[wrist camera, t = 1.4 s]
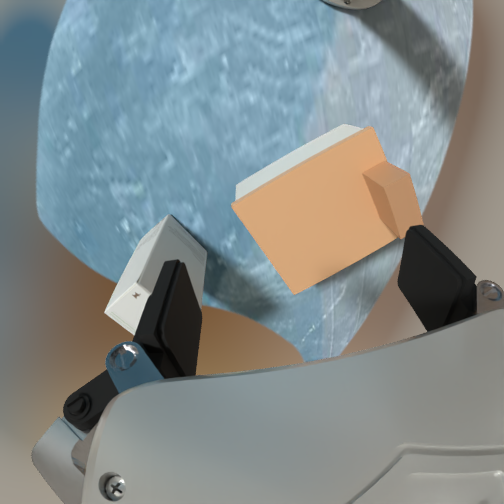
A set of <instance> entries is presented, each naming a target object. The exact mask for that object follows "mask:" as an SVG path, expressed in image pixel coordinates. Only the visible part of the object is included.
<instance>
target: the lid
mask: <svg viewBox="0 0 504 504" xmlns="http://www.w3.org/2000/svg"><path fill="white" fill-rule="evenodd" d="M231 207H232V209H233V210H234V211H235V213H236V214H237V215H238V217H239V218H240V220H241V221H242V222H243V224H244V225H245V227H246V228H247V229H248V231H249V232H250V234H251V235H252V236H253V238H254V239H255V241H256V242H257V243H258V245H259V246H260V248H261V249H262V250H263V252H264V253H265V255H266V256H267V257H268V259H269V260H270V262H271V263H272V264H273V266H274V267H275V269H276V270H277V272H278V273H279V274H280V276H281V277H282V279H283V280H284V281H285V283H286V284H287V286H288V287H289V289H290V290H291V291H292V293H293V294H294V295H295V294H297V293H299V292H301V291H303V290H305V289H307V288H309V287H311V286H313V285H314V284H316V283H318V282H320V281H322V280H324V279H326V278H328V277H329V276H331V275H333V274H335V273H337V272H339V271H341V270H342V269H344V268H346V267H348V266H350V265H351V264H353V263H355V262H357V261H359V260H360V259H362V258H364V257H366V256H367V255H369V254H371V253H373V252H374V251H376V250H378V249H379V248H381V247H383V246H385V245H386V244H388V243H390V242H391V241H393V240H395V239H396V238H398V237H399V238H400V239H402V238H404V237H405V235H406V231H407V230H409V227H410V226H415V225H423V221H422V216H421V212H420V208H419V205H418V201H417V197H416V194H415V190H414V187H413V183H412V180H411V177H410V174H409V173H408V172H406V171H404V170H402V169H400V168H398V167H396V166H394V165H392V164H390V163H388V162H387V159H386V157H385V154H384V152H383V149H382V147H381V145H380V142H379V140H378V137H377V135H376V133H375V131H374V128H373V127H370V126H368V127H366V128H364V129H362V130H360V131H358V132H356V133H354V134H352V135H350V136H349V137H347V138H345V139H343V140H341V141H339V142H337V143H335V144H333V145H332V146H330V147H328V148H326V149H324V150H322V151H320V152H319V153H317V154H315V155H313V156H311V157H310V158H308V159H306V160H304V161H302V162H301V163H299V164H297V165H295V166H294V167H292V168H290V169H288V170H287V171H285V172H283V173H281V174H280V175H278V176H276V177H275V178H273V179H271V180H269V181H268V182H266V183H264V184H263V185H261V186H259V187H258V188H256V189H254V190H253V191H251V192H249V193H248V194H246V195H244V196H243V197H241V198H239V199H238V200H236V201H235V202H233V203H232V204H231Z"/></svg>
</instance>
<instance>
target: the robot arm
mask: <svg viewBox="0 0 504 504" xmlns="http://www.w3.org/2000/svg"><path fill="white" fill-rule="evenodd" d="M323 1H325V2H327V3H329V4H331V5H334V6H337V7H341V8H345V9H351V10H362V9H368V8H370V7H373V6H375V5H376V4H378V3H379V2H380V1H381V0H323ZM345 3H346V4H345ZM475 280H476V276H475V275H474V274H473V272H472V271H471V270H470V269H469V268H468V267H467V266H466V265H465V264H464V263H463V262H462V261H461V260H460V259H459V258H458V257H457V256H456V255H455V254H454V253H453V252H452V251H451V250H449V248H448V247H446V246H445V245H444V244H443V243H442V242H441V241H440V240H439V239H438V238H437V237H436V236H434V235H433V234H432V233H431V232H430V231H429V230H428V229H427V228H426V227H424V226H423V225H415V226H410V227H409V230H407V231H406V235H405V242H404V248H403V254H402V260H401V266H400V271H399V276H398V286H399V288H400V290H401V291H402V293H403V294H404V296H405V297H406V299H407V300H408V302H409V303H410V305H411V306H412V308H413V309H414V311H415V313H416V314H417V316H418V317H419V319H420V320H421V322H422V324H423V325H424V327H425V329H426V330H427V332H426V333H423V334H420V335H417V336H413V337H410V338H407V339H404V340H400V341H397V342H393V343H390V344H386V345H382V346H378V347H375V348H371V349H367V350H363V351H358V352H354V353H350V354H346V355H341V356H336V357H331V358H326V359H321V360H316V361H310V362H305V363H299V364H293V365H287V366H280V367H273V368H266V369H258V370H249V371H240V372H231V373H221V374H209V375H198V376H195V375H196V366H197V357H198V349H199V340H200V333H201V324H202V312H201V309H200V306H199V303H198V301H197V298H196V295H195V292H194V289H193V286H192V283H191V280H190V277H189V274H188V271H187V268H186V265H185V263H184V262H180V260H179V259H176V260H169V261H165V262H164V264H163V266H162V269H161V271H160V274H159V277H158V279H157V282H156V284H155V287H154V290H153V292H152V295H150V296H149V297H148V299H147V302H146V304H145V307H144V310H143V312H142V315H141V318H140V321H139V324H138V326H137V329H136V332H135V335H134V338H133V341H132V342H131V341H127V342H122V343H120V344H118V345H116V346H115V347H113V348H112V349H111V350H110V352H109V353H108V355H107V357H106V361H105V365H106V368H107V370H105V371H104V372H103V373H101V374H100V375H98V376H97V377H95V378H94V379H93V380H91V381H90V382H88V383H87V384H85V385H84V386H83V387H81V388H80V389H78V390H77V391H76V392H74V393H72V394H71V395H70V396H69V397H68V398H67V400H66V402H65V404H64V407H63V413H64V417H63V418H62V419H61V418H60V417H58V418H57V419H56V420H55V422H54V423H53V424H52V425H51V427H50V428H49V429H48V430H47V431H46V432H45V434H44V435H43V436H42V438H41V439H40V440H39V441H38V442H37V443H36V445H35V446H34V448H33V450H32V455H31V456H32V461H33V464H34V466H35V467H36V468H37V470H38V471H39V473H40V474H41V475H42V477H43V478H44V479H45V480H46V482H47V483H48V485H49V486H50V487H51V488H52V490H53V491H54V492H55V493H56V495H57V496H58V497H59V498H60V499H61V500H62V502H63V503H64V504H504V291H503V290H502V288H501V287H500V286H499V285H497V284H496V283H494V282H492V281H488V280H483V281H480V282H479V283H478V284H477V286H476V285H475V284H474V283H475Z"/></svg>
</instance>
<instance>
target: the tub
mask: <svg viewBox="0 0 504 504" xmlns="http://www.w3.org/2000/svg"><path fill="white" fill-rule="evenodd" d="M362 129H363V128H359V127H355V126H351V125H347V124H343V125H341V126H339V127H337V128H335V129H333V130H331V131H329V132H327V133H325V134H323V135H322V136H320V137H318V138H316V139H314V140H312V141H310V142H309V143H307V144H305V145H303V146H301V147H300V148H298V149H296V150H294V151H292V152H291V153H289V154H287V155H285V156H284V157H282V158H280V159H278V160H277V161H275V162H273V163H272V164H270V165H268V166H266V167H265V168H263V169H261V170H260V171H258V172H256V173H255V174H253V175H251V176H250V177H248V178H247V179H245V180H243V181H242V182H240V183H238V184H237V185H236V200H238V199H239V198H241V197H243V196H244V195H246V194H248V193H249V192H251V191H253V190H254V189H256V188H258V187H259V186H261V185H263V184H264V183H266V182H268V181H269V180H271V179H273V178H275V177H276V176H278V175H280V174H281V173H283V172H285V171H287V170H288V169H290V168H292V167H294V166H295V165H297V164H299V163H301V162H302V161H304V160H306V159H308V158H310V157H311V156H313V155H315V154H317V153H319V152H320V151H322V150H324V149H326V148H328V147H330V146H332V145H333V144H335V143H337V142H339V141H341V140H343V139H345V138H347V137H349V136H350V135H352V134H354V133H356V132H358V131H360V130H362Z"/></svg>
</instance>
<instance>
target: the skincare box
mask: <svg viewBox="0 0 504 504" xmlns="http://www.w3.org/2000/svg"><path fill="white" fill-rule="evenodd" d="M176 259H179V260H180V262H184V263H185V265H186V268H187V271H188V274H189V277H190V280H191V283H192V286H193V289H194V292H195V295H196V298H197V301H198V303H199V306H200V309H201V305H202V295H203V285H204V277H205V268H206V260H207V251H206V250H205V249H204V248H203V247H202V246H201V245H200V244H199V243H198V242H197V241H196V240H195V239H194V238H193V237H192V236H191V235H190V234H189V233H188V232H187V231H186V230H185V229H184V228H183V227H182V226H181V225H180V224H179V223H178V222H177V221H176V220H175V219H174V218H173V217H172V216H171V215H170V214H168V215H167V216H166V217H165V218H163V219H162V220H161V221H160V222H159V223H158V224H157V225H156V226H154V227H153V228H152V229H151V230H150V231H149V232H148V233H147V234H146V235H145V236H144V237H143V238H142V239H141V240H140V242H139V244H138V246H137V247H136V249H135V251H134V253H133V255H132V257H131V259H130V260H129V262H128V264H127V266H126V268H125V270H124V272H123V274H122V276H121V278H120V280H119V282H118V284H117V286H116V288H115V290H114V292H113V295H112V297H111V299H110V301H109V303H108V305H107V308H106V310H105V313H106V314H107V315H108V316H109V317H111V318H112V319H113V320H115V321H116V322H117V323H119V324H120V325H121V326H123V327H124V328H125V329H127V330H128V331H129V332H131V333H132V334H134V335H135V332H136V329H137V326H138V324H139V321H140V318H141V315H142V312H143V310H144V307H145V304H146V302H147V299H148V297H149V296H150V295H152V292H153V290H154V287H155V284H156V282H157V279H158V277H159V274H160V271H161V269H162V266H163V264H164V262H165V261H169V260H176Z"/></svg>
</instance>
